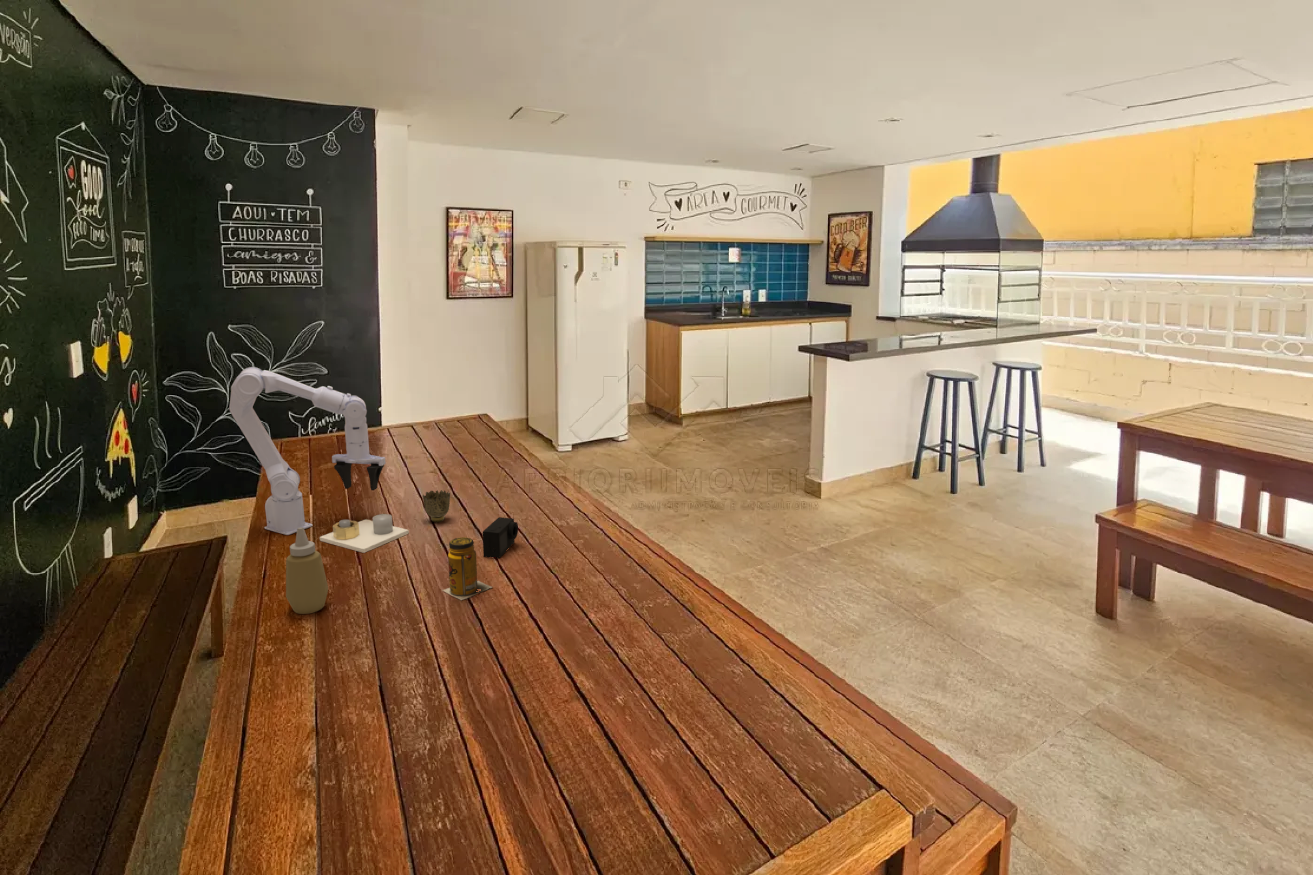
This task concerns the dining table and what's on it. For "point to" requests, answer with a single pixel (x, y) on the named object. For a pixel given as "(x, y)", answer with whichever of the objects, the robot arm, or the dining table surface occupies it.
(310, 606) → the squeeze bottle
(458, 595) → the condiment
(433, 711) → the dining table surface
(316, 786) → the dining table surface
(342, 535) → the ring
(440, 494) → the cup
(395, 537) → the stub board
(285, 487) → the robot arm
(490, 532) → the digital camera
